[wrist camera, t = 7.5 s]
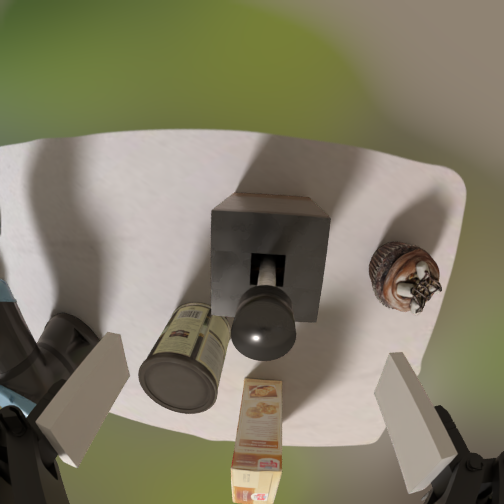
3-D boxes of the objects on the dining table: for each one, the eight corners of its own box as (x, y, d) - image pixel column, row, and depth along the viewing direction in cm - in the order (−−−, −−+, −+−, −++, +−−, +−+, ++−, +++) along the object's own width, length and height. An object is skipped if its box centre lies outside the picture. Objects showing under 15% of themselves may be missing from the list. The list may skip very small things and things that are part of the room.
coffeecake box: (243, 377, 48) (229, 468, 29) (283, 379, 47) (284, 471, 29) (242, 425, 52) (231, 503, 34) (276, 428, 52) (273, 506, 33)
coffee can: (193, 361, 47) (171, 419, 34) (158, 316, 45) (123, 369, 32) (243, 342, 45) (233, 404, 32) (208, 291, 43) (183, 345, 29)
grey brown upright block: (232, 262, 41) (211, 315, 27) (234, 192, 38) (211, 210, 24) (302, 267, 41) (316, 322, 26) (309, 197, 38) (330, 218, 23)
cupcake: (386, 223, 38) (417, 242, 28) (429, 256, 39) (462, 280, 29) (350, 277, 41) (370, 309, 31) (395, 304, 42) (419, 338, 32)
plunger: (239, 264, 36) (203, 375, 17) (241, 209, 34) (199, 272, 15) (295, 268, 36) (315, 383, 16) (300, 213, 34) (336, 282, 14)
